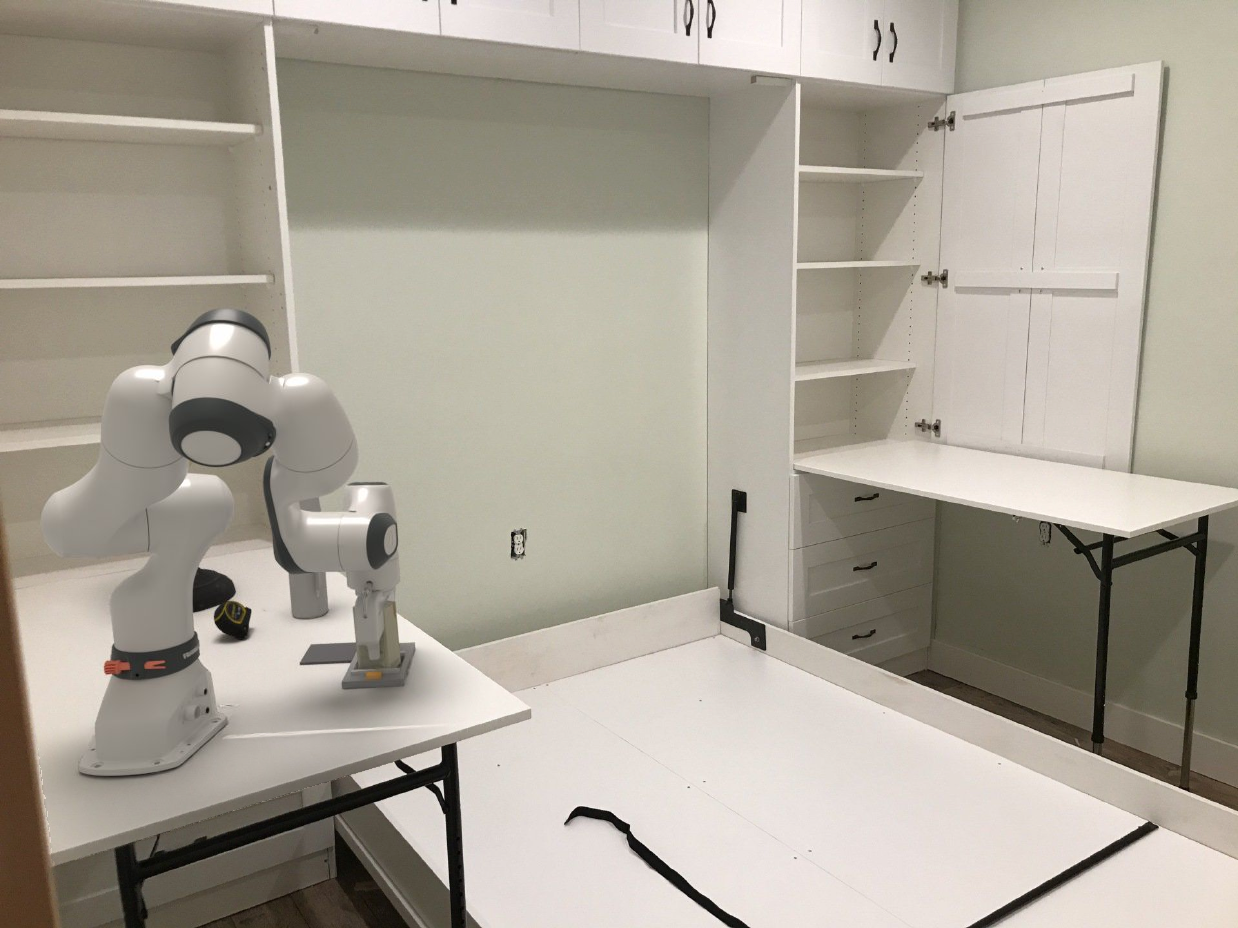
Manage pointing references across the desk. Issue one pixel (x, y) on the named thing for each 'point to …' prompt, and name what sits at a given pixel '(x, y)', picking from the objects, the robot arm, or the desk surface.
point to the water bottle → (308, 582)
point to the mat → (329, 653)
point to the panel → (379, 672)
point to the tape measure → (233, 619)
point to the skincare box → (383, 643)
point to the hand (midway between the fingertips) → (378, 650)
